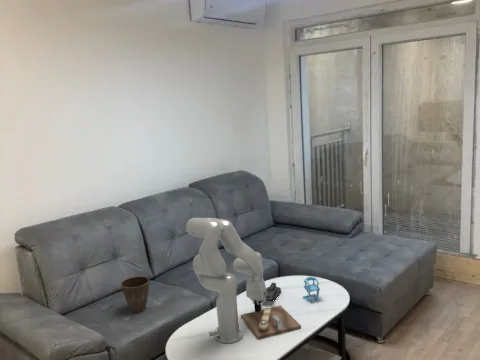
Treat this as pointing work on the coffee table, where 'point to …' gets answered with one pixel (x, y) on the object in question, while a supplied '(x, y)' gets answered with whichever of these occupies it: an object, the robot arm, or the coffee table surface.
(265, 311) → the link
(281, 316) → the walnut board
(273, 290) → the zipper pull
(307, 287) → the chair
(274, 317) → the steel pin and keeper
